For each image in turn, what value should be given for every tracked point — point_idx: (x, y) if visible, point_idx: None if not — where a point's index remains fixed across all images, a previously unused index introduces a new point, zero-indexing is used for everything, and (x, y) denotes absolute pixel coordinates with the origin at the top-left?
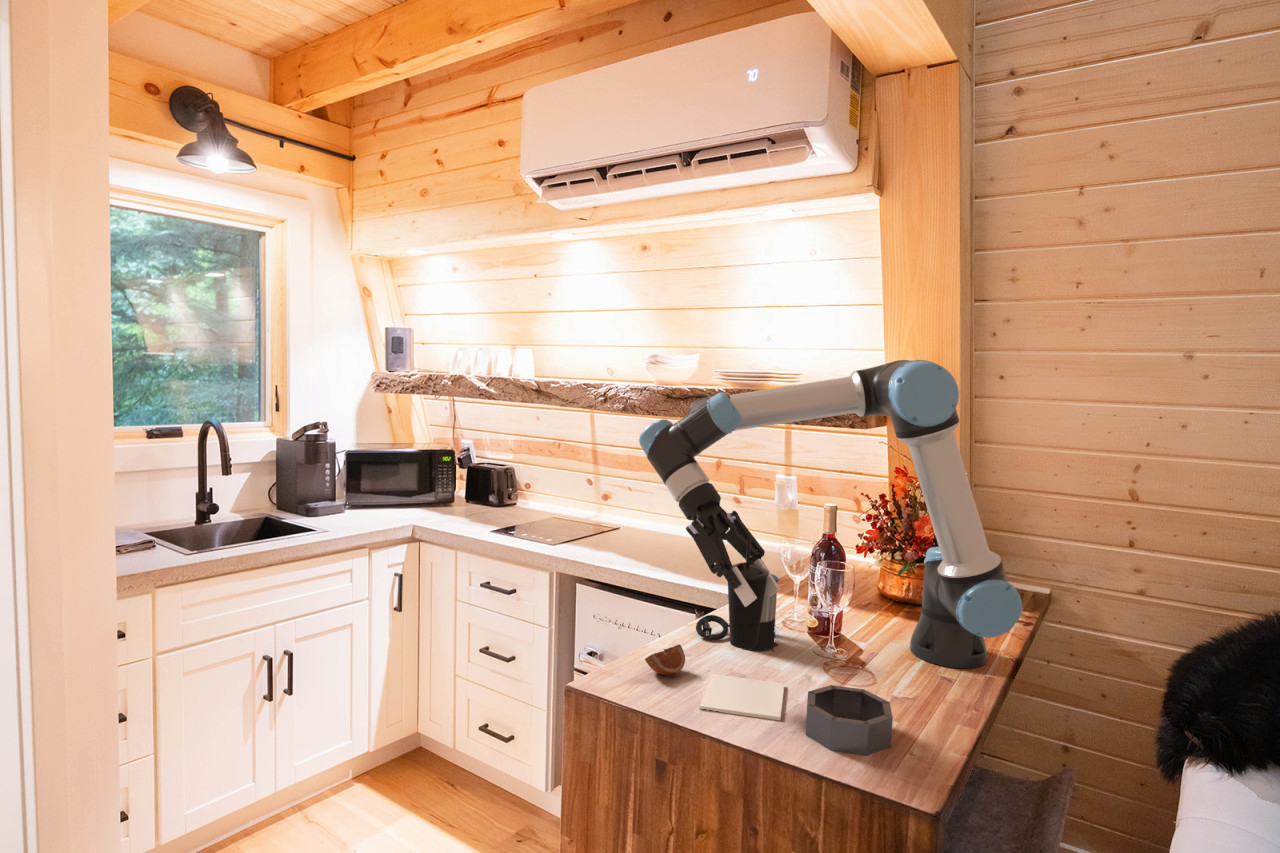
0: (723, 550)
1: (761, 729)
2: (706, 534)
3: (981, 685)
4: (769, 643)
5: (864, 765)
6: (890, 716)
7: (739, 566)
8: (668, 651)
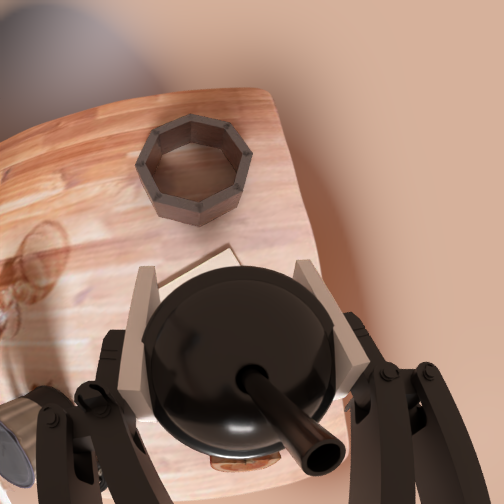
0: (402, 447)
1: (267, 252)
2: (474, 500)
3: (7, 148)
4: (48, 390)
5: (245, 139)
6: (190, 115)
7: (304, 386)
8: (240, 459)
